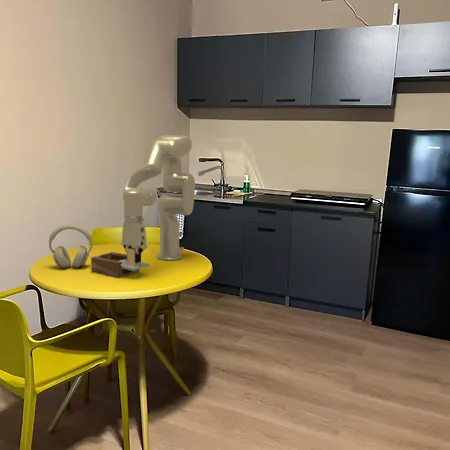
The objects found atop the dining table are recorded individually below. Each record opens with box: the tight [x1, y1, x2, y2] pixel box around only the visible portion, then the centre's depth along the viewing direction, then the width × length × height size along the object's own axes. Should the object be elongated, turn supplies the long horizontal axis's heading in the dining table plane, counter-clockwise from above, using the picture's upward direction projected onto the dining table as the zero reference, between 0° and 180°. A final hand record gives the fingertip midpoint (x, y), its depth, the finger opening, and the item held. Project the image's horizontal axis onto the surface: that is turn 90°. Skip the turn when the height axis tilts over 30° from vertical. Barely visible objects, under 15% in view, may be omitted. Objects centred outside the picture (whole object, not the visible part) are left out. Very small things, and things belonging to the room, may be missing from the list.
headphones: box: [48, 223, 93, 269], centre depth 206 cm, size 18×10×20 cm, turn 100°
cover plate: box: [120, 246, 150, 271], centre depth 197 cm, size 10×14×8 cm
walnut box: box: [90, 251, 140, 279], centre depth 202 cm, size 13×16×7 cm
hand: (133, 261), depth 196 cm, fingers closed on cover plate, 4 cm apart
